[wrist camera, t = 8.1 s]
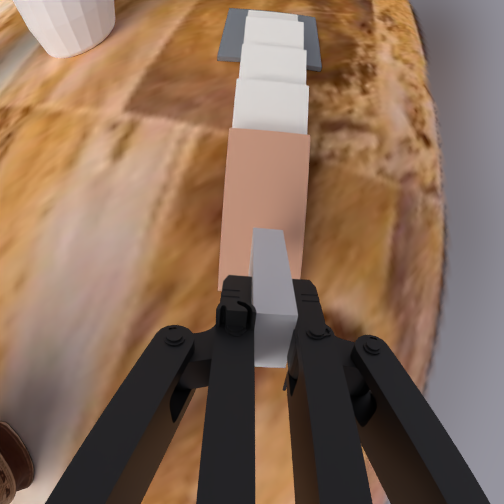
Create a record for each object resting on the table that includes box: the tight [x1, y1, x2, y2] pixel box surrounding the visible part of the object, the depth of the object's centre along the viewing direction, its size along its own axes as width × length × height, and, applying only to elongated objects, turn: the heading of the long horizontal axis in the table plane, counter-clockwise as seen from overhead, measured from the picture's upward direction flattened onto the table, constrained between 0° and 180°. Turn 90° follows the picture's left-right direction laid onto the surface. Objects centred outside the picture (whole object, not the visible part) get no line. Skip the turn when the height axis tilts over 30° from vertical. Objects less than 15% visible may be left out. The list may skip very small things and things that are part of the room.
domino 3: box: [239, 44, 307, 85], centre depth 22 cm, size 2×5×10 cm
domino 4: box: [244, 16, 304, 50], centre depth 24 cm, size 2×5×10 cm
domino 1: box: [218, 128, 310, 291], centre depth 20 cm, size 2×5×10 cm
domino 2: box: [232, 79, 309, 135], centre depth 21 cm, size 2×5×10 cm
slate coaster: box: [217, 8, 322, 72], centre depth 28 cm, size 10×10×1 cm
